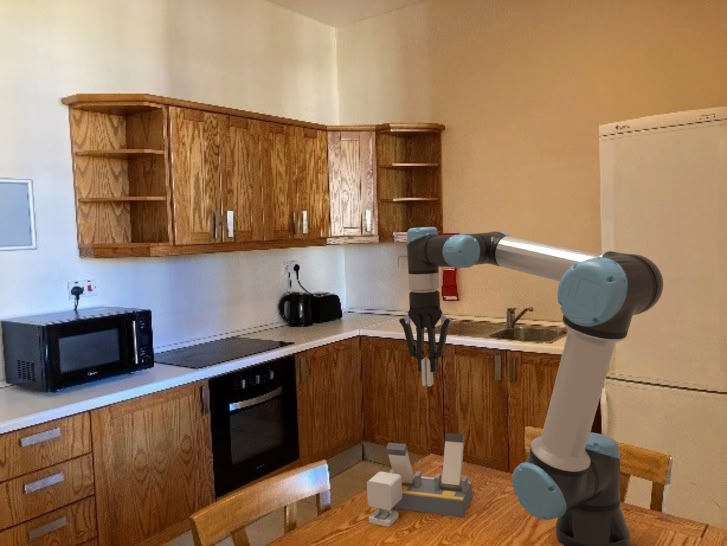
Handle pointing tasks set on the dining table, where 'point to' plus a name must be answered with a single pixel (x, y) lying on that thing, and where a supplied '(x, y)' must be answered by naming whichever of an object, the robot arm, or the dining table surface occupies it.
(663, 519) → the dining table surface
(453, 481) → the lever
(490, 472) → the dining table surface
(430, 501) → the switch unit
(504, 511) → the dining table surface
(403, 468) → the lever
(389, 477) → the security camera
